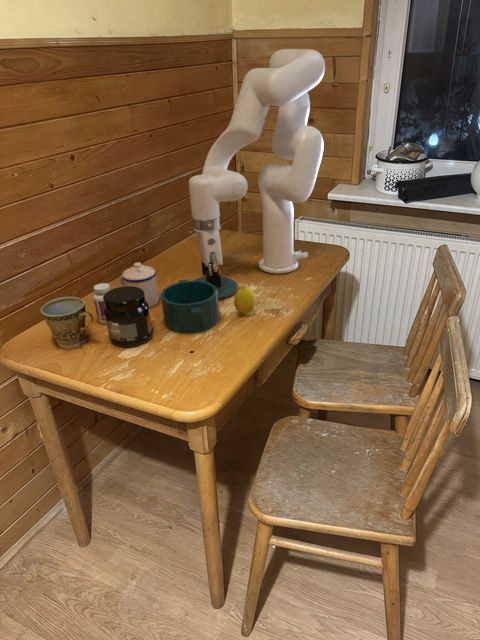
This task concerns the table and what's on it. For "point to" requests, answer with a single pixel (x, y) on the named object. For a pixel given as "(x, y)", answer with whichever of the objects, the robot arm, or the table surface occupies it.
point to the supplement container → (127, 316)
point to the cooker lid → (222, 285)
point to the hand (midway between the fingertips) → (211, 280)
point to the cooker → (190, 306)
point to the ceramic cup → (67, 320)
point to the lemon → (244, 300)
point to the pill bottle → (100, 300)
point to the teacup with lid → (142, 281)
